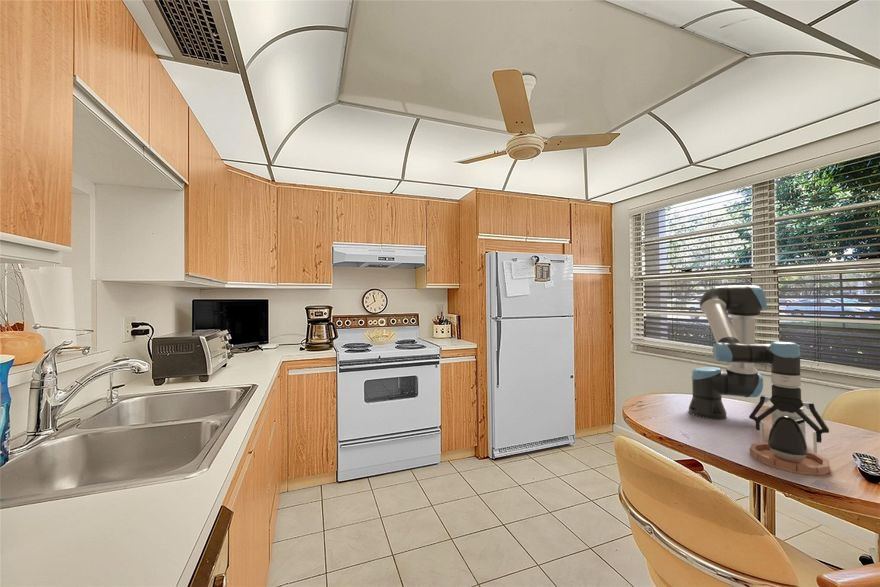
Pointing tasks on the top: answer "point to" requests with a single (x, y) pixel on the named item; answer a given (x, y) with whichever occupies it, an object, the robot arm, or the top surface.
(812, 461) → the round tray
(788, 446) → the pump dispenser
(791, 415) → the supplement tub
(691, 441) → the top surface
